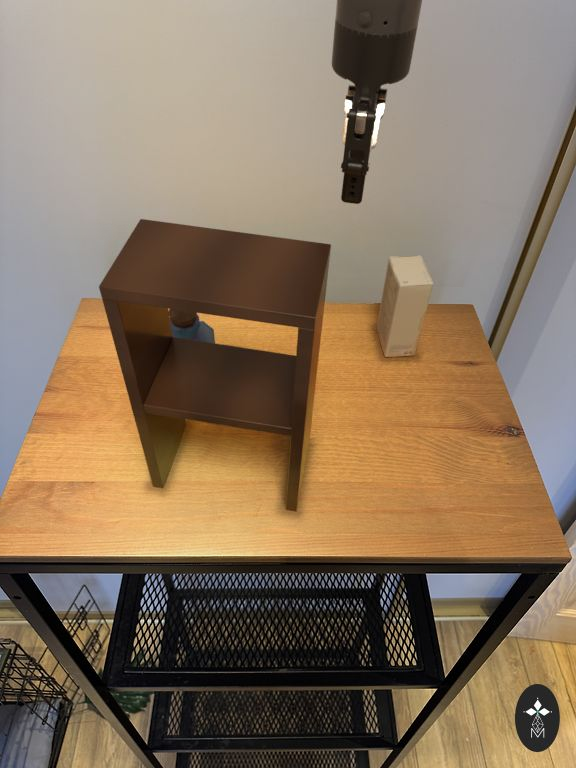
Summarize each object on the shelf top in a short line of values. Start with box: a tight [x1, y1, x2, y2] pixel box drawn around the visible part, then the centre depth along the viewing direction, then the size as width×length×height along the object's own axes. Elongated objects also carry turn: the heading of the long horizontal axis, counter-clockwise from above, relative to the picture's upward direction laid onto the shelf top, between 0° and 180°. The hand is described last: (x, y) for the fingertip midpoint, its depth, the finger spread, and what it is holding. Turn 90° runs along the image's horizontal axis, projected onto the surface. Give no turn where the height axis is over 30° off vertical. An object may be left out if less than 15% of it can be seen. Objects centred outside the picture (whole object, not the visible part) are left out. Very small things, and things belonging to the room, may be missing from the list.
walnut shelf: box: [98, 218, 332, 513], centre depth 54 cm, size 16×9×28 cm, turn 80°
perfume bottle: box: [168, 308, 216, 343], centre depth 68 cm, size 6×6×12 cm
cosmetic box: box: [376, 255, 434, 358], centre depth 75 cm, size 6×4×12 cm
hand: (355, 181), depth 64 cm, fingers open, 8 cm apart
